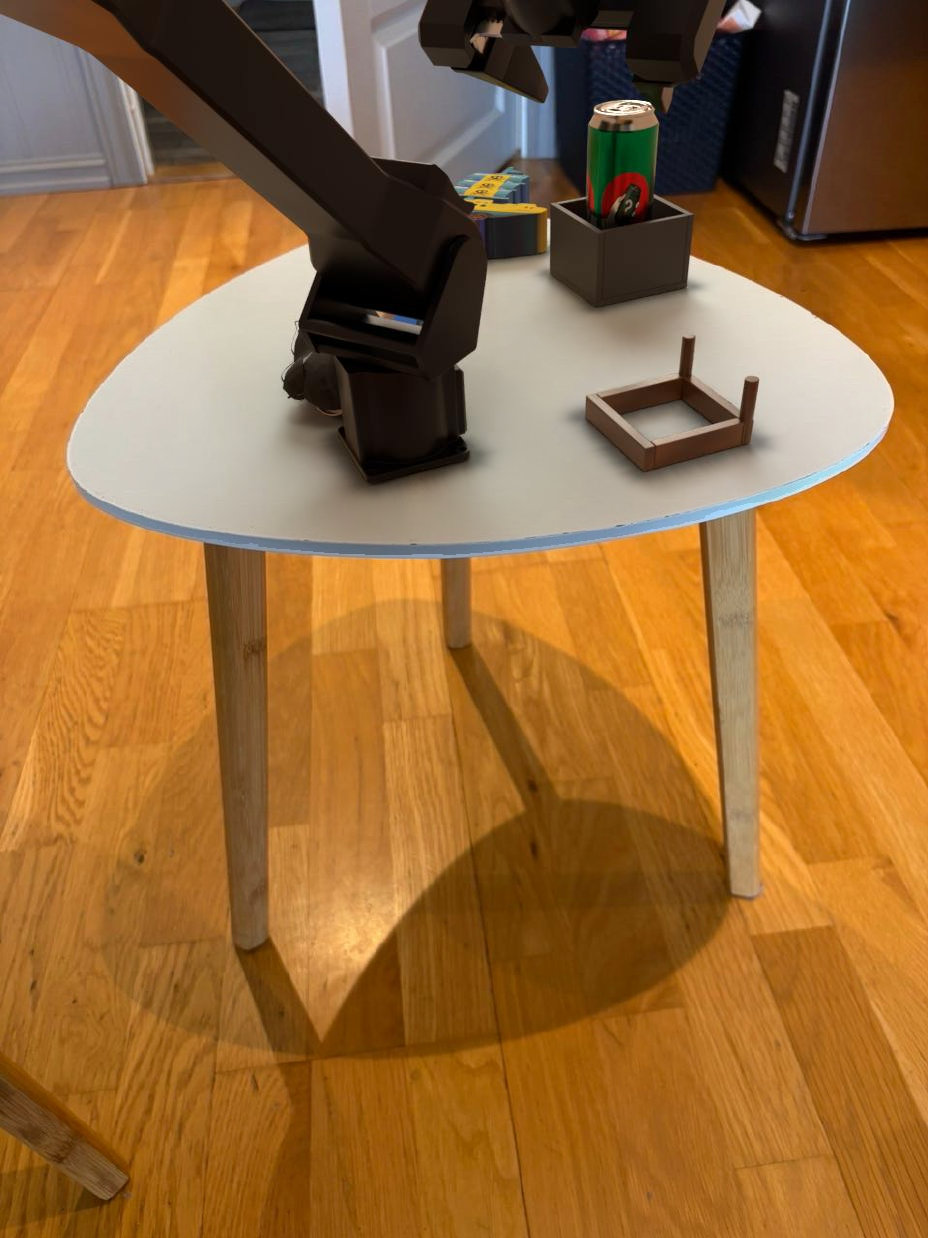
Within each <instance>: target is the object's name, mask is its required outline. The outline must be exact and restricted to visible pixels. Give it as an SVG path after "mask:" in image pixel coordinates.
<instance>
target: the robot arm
mask: <svg viewBox="0 0 928 1238" xmlns="http://www.w3.org/2000/svg"><path fill="white" fill-rule="evenodd" d="M726 2H727V0H426V1H425V4H424V6H423V8H422V11H421V15H420V18H419V21H418V23H417V37H418V38H417V39H418V44H419V46H420V48H421V49H422V51H423V52H424V54H425V55H426V57H427V58H428V59H429V61H430V63H432V65H433V67H449V68H450V70H452V71H453V72H454V73H457V74H463V75H467V76H469V77H472V78H474V79H477V80H480V81H482V82H486V83H488V84H491V85H494V86H496V87H498V88H502V89H504V90H507V91H509V92H511V93H514V94H516V95H518V96H521V97H523V98H526V99H529V100H531V101H533V102H535V103H537V104H545V103H546V100H547V99H548V96H549V92H550V89H549V85H548V82H547V79H546V76H545V73H544V71H543V69H542V66H541V64H540V63H539V60H538V58H537V56H536V54H535V51H534V50H533V48H532V47H547V48H549V47H550V48H565V49H566V48H567V49H568V48H569V49H578V47H579V44H580V41H581V38H582V36H583V33H584V32H585V31H587V30H603V31H604V30H605V31H625V33H626V34H625V48H624V49H625V50H624V53H625V54H624V60H625V62H626V65H627V67H628V69H629V72H631V73H633V75H632V77H631V81H630V82H631V84H632V86H633V87H634V88H635V89H636V90H637V91H638V93H640V94H641V95H642V96H643V98H644V99H645V100H646V102H648V103H650V104H651V105H652V107H653V108H655V110H656V111H657V112H659V113H660V114H664V115H667V113H668V111H669V108H670V106H671V102H672V100H673V93H674V88H675V87H677V86H678V85H679V84H680V83H683V84H687V83H689V82H690V81H692V80H694V78H696V77H698V76H699V75H700V74H701V71H702V68H703V65H704V62H705V59H706V57H707V54H708V52H709V49H710V46H711V43H712V41H713V38H714V35H715V33H716V30H717V27H718V25H719V21H720V19H721V16H722V14H723V12H724V8H725V6H726ZM0 15H2V16H4V17H7V18H9V19H11V20H13V21H16V22H18V23H21V24H23V25H26V26H28V27H31V28H33V29H34V30H38V31H40V32H42V33H45V34H47V35H49V36H52V37H54V38H56V39H59V40H61V41H63V42H66V43H68V44H71V45H73V46H75V47H77V48H79V49H81V50H83V51H85V53H88V54H90V55H91V56H92V57H93V58H94V59H96V60H97V61H98V62H100V64H102V65H103V66H104V67H106V68H107V69H108V70H109V71H110V72H112V74H114V75H115V76H116V77H117V78H119V79H120V80H121V81H122V82H123V83H125V84H126V85H127V86H128V87H129V88H130V89H132V90H133V91H134V92H136V93H137V94H138V95H139V96H140V97H141V98H142V99H144V100H146V102H147V103H149V105H151V106H152V107H154V108H155V109H156V110H157V111H158V112H160V113H161V114H162V115H163V116H164V117H165V118H167V119H168V120H169V121H170V122H171V123H173V124H174V125H175V126H176V127H178V129H180V130H181V131H182V132H184V134H186V135H187V136H188V137H189V138H190V139H192V140H193V141H194V142H195V143H196V144H198V145H199V146H200V147H201V148H202V149H204V150H205V151H206V152H207V153H209V154H210V156H212V157H213V158H214V159H216V160H217V161H218V162H220V164H222V165H223V166H224V167H225V168H226V169H227V170H229V171H230V172H231V173H233V174H234V175H235V176H236V177H237V178H239V179H240V180H241V181H242V182H243V183H245V185H247V186H248V187H250V188H251V190H253V191H254V192H255V193H256V194H258V195H259V196H260V197H261V198H263V199H264V200H265V201H266V202H267V203H269V204H270V205H271V206H272V207H273V208H274V209H276V211H278V212H279V213H280V214H282V215H283V216H284V217H286V219H288V220H289V221H290V222H291V223H293V225H295V226H296V227H297V228H299V229H300V230H301V231H302V232H303V234H305V236H306V237H307V245H308V252H309V253H308V254H309V260H310V263H311V265H312V268H314V270H315V271H316V273H315V275H314V278H313V280H312V283H311V286H310V289H309V291H308V293H307V297H306V299H305V302H304V305H303V308H302V311H301V313H300V315H299V319H298V320H297V321H298V322H297V328H298V330H299V329H300V332H301V334H302V336H303V338H304V340H305V342H306V344H307V346H308V348H309V350H310V351H311V353H312V352H315V353H325V354H329V355H333V356H334V363H335V369H336V376H337V383H338V389H339V396H340V402H341V409H342V414H341V415H342V420H343V426H342V425H341V426H340V427H338V428H337V433H338V438H339V439H340V441H341V442H342V444H343V446H344V447H345V449H346V451H347V452H348V454H349V456H350V457H351V459H352V460H353V462H354V463H355V465H356V467H357V468H358V471H360V473H361V475H362V477H363V478H364V480H365V481H366V482H368V483H378V482H382V481H386V480H389V479H393V478H397V477H400V476H401V477H402V476H405V475H409V474H414V473H416V472H420V471H425V470H428V469H432V468H436V467H439V466H444V465H449V464H451V463H457V462H459V461H463V460H467V459H470V457H471V446H469V444H468V443H467V442H466V441H465V439H464V438H463V437H462V435H466V432H467V431H468V424H467V423H468V421H467V406H466V405H467V404H466V389H465V387H466V386H465V372H464V370H463V369H462V368H461V367H460V365H458V363H460V362H461V361H462V360H464V359H465V358H467V357H468V356H469V355H471V354H472V353H473V352H475V351H476V350H477V348H478V341H479V334H480V327H481V326H480V325H481V319H482V313H483V312H482V311H483V304H484V297H485V290H486V283H487V275H488V258H487V255H486V251H485V248H484V245H483V243H484V242H483V239H482V235H481V232H480V230H479V228H478V226H477V225H476V223H475V221H474V219H472V218H471V217H470V216H469V215H470V213H471V212H472V211H473V210H474V208H475V204H474V203H473V202H469V201H465V200H464V199H463V198H462V197H461V196H459V194H458V193H457V191H456V190H455V188H454V186H453V185H454V184H453V183H452V181H451V178H450V177H449V175H448V174H447V173H446V172H445V171H444V170H443V169H442V168H441V167H439V165H437V164H436V163H429V162H422V161H413V160H405V159H397V158H389V157H381V156H374V155H373V156H372V155H369V154H368V153H367V152H366V151H365V150H364V149H363V147H362V146H361V145H360V144H359V143H358V142H357V141H356V140H355V139H354V137H352V135H351V134H350V133H349V132H348V131H347V130H346V129H345V128H344V127H343V126H342V125H341V124H340V123H339V121H337V120H336V118H335V117H334V116H333V115H332V114H331V113H330V112H329V110H327V109H326V107H324V106H323V104H322V103H321V102H320V101H319V100H318V99H317V98H316V97H315V96H314V95H313V94H312V92H310V90H309V89H308V88H307V87H306V86H305V85H304V84H303V83H302V82H301V81H300V80H299V79H298V78H297V76H295V75H294V73H293V72H292V71H291V70H290V68H288V67H287V65H285V63H283V62H282V60H281V59H280V58H279V57H278V56H277V55H276V54H275V53H274V52H273V51H272V50H271V49H270V47H269V46H268V45H267V44H266V43H265V42H264V41H263V40H262V39H261V38H260V37H259V35H257V33H256V32H255V31H254V30H253V29H252V28H251V27H250V26H249V25H248V24H247V23H246V22H245V20H244V19H242V17H241V16H240V14H238V13H237V12H236V11H235V10H234V9H233V8H232V6H231V5H230V4H229V3H228V2H227V1H226V0H0ZM367 309H369V310H374V311H378V312H383V313H388V314H392V315H397V316H402V317H406V318H411V319H416V320H420V321H424V322H423V325H422V326H418V325H413V324H409V323H404V322H399V321H395V320H390V319H386V318H381V317H376V316H372V315H367Z"/></svg>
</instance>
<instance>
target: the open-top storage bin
mask: <svg viewBox="0 0 928 1238" xmlns="http://www.w3.org/2000/svg"><path fill="white" fill-rule="evenodd" d="M585 211H586V196H583V197H579V198H578V197H577V198H572V199H568V200H562V201H557V202H551V203H550V204H549V213H550V214H549V218H550V219H549V274H550V275H551V276H552V277H554V278H556V279H557V280H558V281H559V282H561V283H562V284H564V285H565V286H566V287H567V288H569V289H571V290H572V291H573V292H575V294H577V295H578V296H580V297H581V298H583V299H584V301H587V302H588V303H589V304H590V305H592V306H593V307H594V308H599V307H604V306H609V305H612V304H617V303H621V302H626V301H631V300H634V299H635V300H636V299H639V298H644V297H649V296H654V295H658V294H662V293H666V292H671V291H676V290H680V289H685V288H688V278H689V269H690V262H691V261H690V260H691V250H692V249H691V248H692V241H693V240H692V239H693V230H694V229H693V228H694V220H695V214H694V213H692V212H690V211H688V210H686V209H684V208H683V207H680V206H678V205H676V204H675V203H672V202H670V201H668V200H667V199H665V198H662V197H660V196H659V195H657V194H655V193H654V199H653V212H652V221H647V222H642V223H637V224H632V225H627V226H622V227H617V228H611V229H606V230H602V231H601V230H600V229H598V228H596V227H595V226H593V225H592V224H590V223H588V222H587V221H585Z"/></svg>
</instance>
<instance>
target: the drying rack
mask: <svg viewBox="0 0 928 1238" xmlns="http://www.w3.org/2000/svg"><path fill="white" fill-rule="evenodd" d="M696 339H697V336H696V335H695V334H693V333H684V334H683V335H682V338H681V346H680V347H681V348H680V356H679V366H678V367H679V368H678V372H676V373H672V374H667V375H664V376H659V377H655V378H652V379H646V380H643V381H640V382H635V383H631V384H628V385H623V386H620V387H615V388H611V389H607V390H603V391H599V392H595V393H591V394H587V395H586V396H585V407H584V408H585V410H584V411H585V412H584V416H585V419H586V420H588V421H589V422H590V423H591V424H592V425H593V426H594V427H595V428H596V429H597V430H598V431H599V432H601V434H603V436H605V437H606V438H607V439H608V440H609V441H610V442H611V443H612V444H613V445H614V446H615V447H616V448H618V449H619V450H620V451H621V452H622V453H623V454H624V455H625V456H626V457H628V459H629V460H631V462H633V463H634V464H635V465H636V466H637V467H638V468H639V469H640V470H641V471H643V472H646V471H650V470H654V469H658V468H662V467H665V466H670V465H673V464H677V463H681V462H683V461H688V460H691V459H694V458H698V457H702V456H706V455H709V454H714V453H716V452H720V451H724V450H728V449H731V448H735V447H738V446H741V445H748V444H750V443H751V441H752V435H753V430H754V429H753V428H754V422H755V421H754V417H755V416H754V415H755V410H756V404H757V399H758V398H757V396H758V392H759V386H760V378H759V376H755V375H747V376H746V377H744V381H743V388H742V393H741V401H740V408H738V407H737V406H735V405H734V404H733V403H732V402H730V401H729V400H728V399H726V398H724V397H723V396H722V395H720V394H719V393H718V392H716V390H714V389H712V387H709V386H708V385H707V384H706V383H704V382H703V381H701V380H700V379H699V378H697V377H696V376H695V375H694V374H693V365H694V356H695V347H696ZM681 399H682V400H683V402H685V403H687V404H688V405H689V406H690V407H692V408H693V409H694V410H696V411H697V412H698V413H700V415H702V416H703V417H705V418H706V419H707V420H708V421H709V422H711V423H712V424H708V425H704V426H701V427H698V428H697V427H696V428H693V429H691V430H690V429H689V430H686V431H683V432H679V433H675V434H671V435H668V436H664V437H660V438H656V439H652V440H649V439H648V438H647V437H645V436H644V435H643V434H642V433H641V432H640V431H639V430H638V429H636V428H635V427H634V426H633V425H632V424H631V423H630V422H628V420H626V418H624V417H623V416H622V415H621V414H626V413H630V412H634V411H638V410H642V409H645V408H649V407H653V406H658V405H662V404H665V403H669V402H672V401H677V400H681Z"/></svg>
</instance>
